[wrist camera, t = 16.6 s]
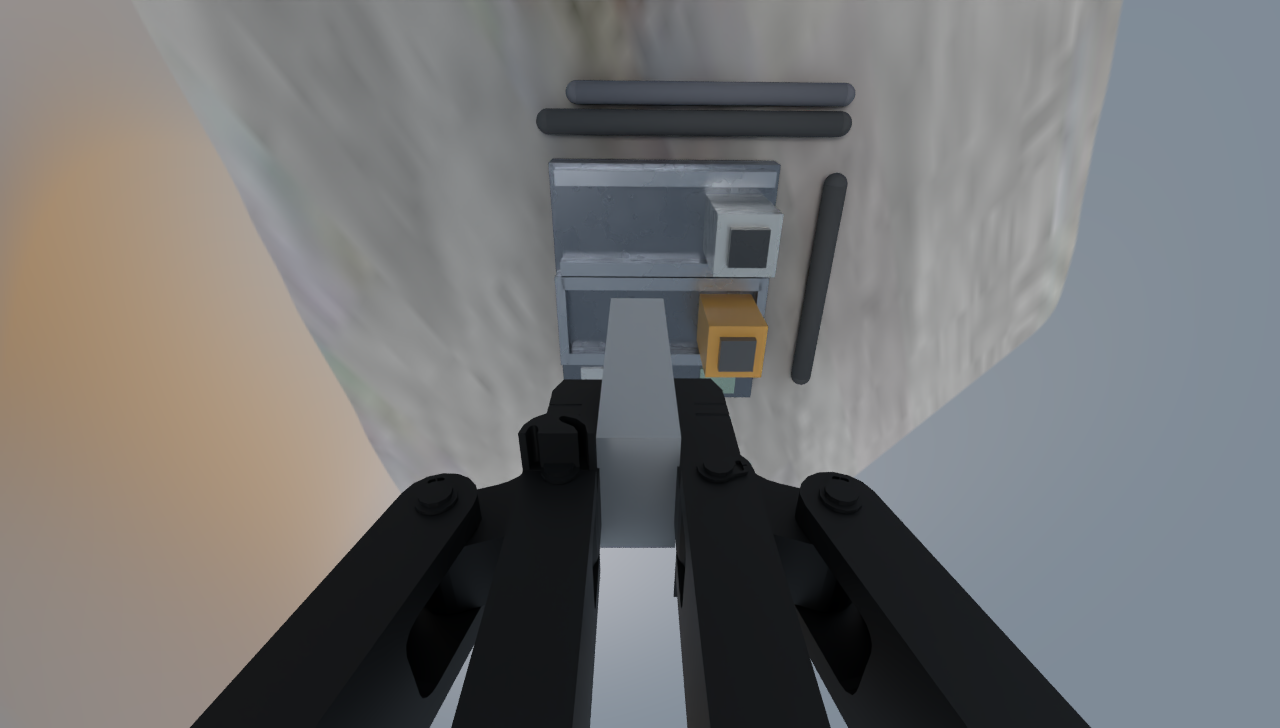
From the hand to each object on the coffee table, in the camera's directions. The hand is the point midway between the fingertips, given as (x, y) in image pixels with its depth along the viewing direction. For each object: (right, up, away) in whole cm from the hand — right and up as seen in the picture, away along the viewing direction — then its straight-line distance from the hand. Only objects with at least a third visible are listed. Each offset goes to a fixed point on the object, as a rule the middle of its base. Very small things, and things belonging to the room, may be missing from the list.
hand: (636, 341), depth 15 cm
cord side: (+14, +6, +27) cm, 31 cm away
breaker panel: (+2, +6, +27) cm, 28 cm away
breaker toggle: (+7, +3, +26) cm, 27 cm away
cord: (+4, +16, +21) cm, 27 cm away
